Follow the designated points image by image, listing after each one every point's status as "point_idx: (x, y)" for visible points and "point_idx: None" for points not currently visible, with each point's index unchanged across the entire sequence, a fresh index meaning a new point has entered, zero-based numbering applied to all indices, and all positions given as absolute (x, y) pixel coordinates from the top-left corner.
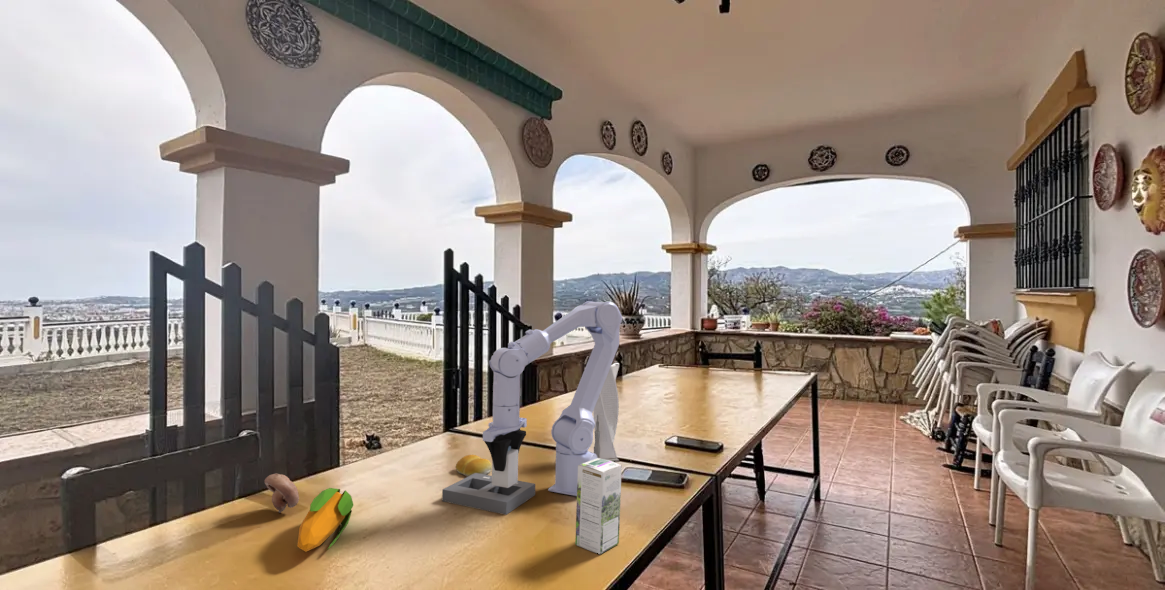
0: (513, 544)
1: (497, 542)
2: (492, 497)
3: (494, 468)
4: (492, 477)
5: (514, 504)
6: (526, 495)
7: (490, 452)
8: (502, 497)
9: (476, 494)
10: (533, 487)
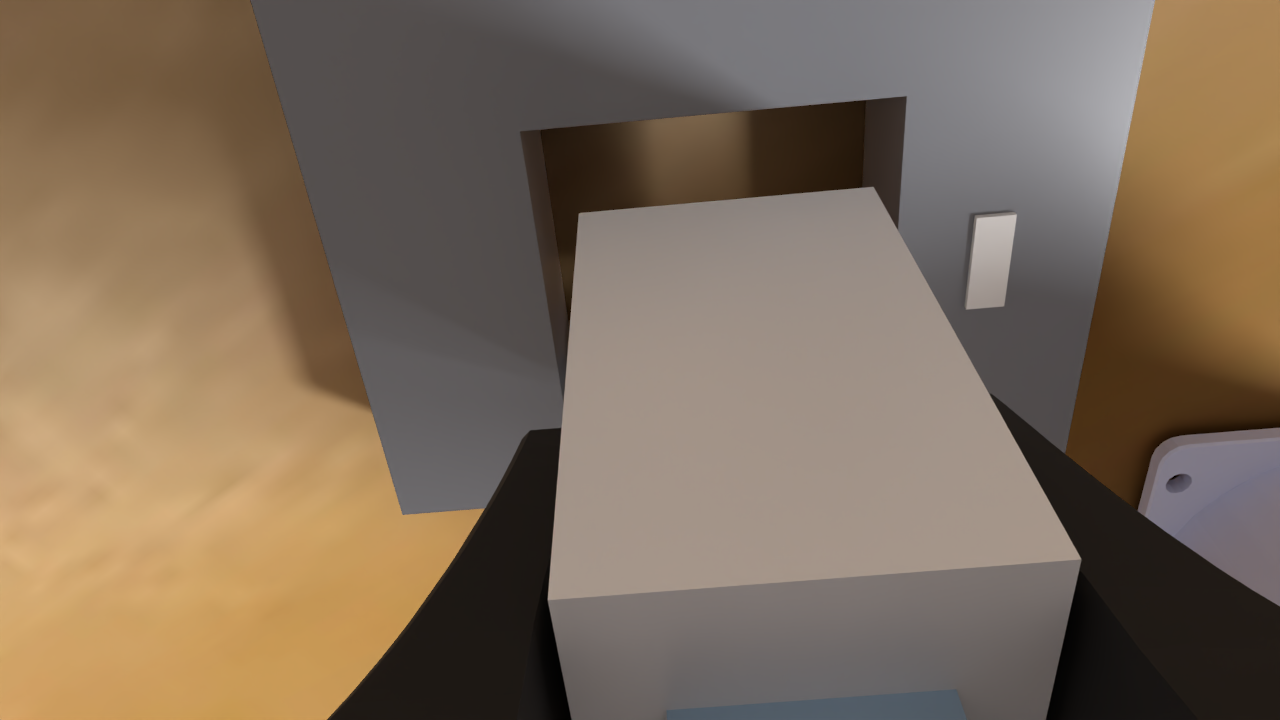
0: (86, 711)
1: (12, 634)
2: (403, 328)
3: (514, 454)
4: (576, 276)
5: None
6: None
7: (365, 690)
8: (479, 414)
9: (336, 89)
10: None
